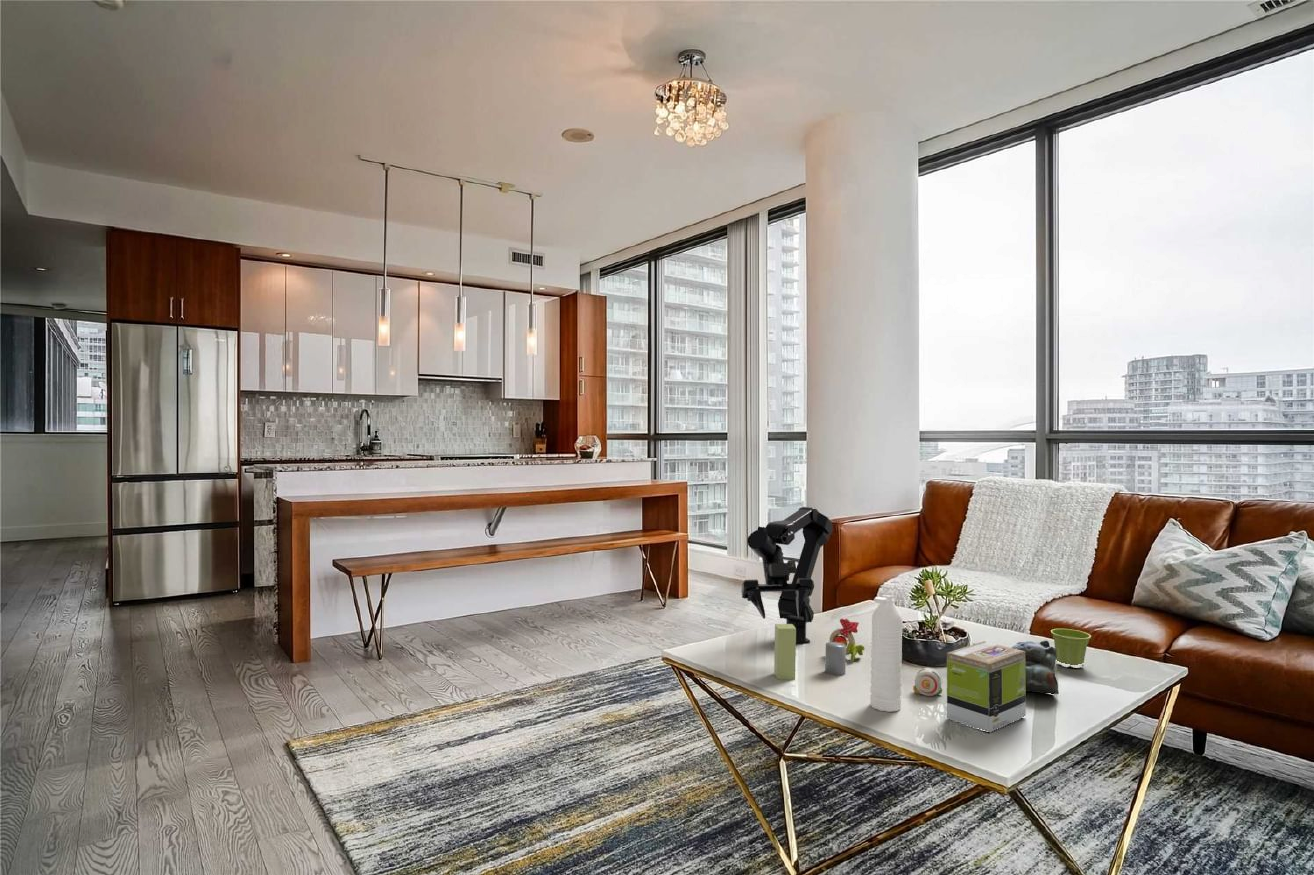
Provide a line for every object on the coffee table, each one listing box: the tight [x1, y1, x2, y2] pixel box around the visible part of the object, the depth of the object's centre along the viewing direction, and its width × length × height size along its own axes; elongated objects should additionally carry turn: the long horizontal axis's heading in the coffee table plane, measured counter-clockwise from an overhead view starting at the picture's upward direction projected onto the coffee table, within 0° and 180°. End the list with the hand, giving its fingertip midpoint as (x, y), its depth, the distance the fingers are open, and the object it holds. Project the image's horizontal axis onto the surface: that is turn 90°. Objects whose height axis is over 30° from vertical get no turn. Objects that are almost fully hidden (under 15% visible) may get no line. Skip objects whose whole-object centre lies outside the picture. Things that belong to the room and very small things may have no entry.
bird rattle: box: [828, 618, 865, 662], centre depth 203 cm, size 6×11×9 cm
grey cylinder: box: [824, 642, 847, 677], centre depth 191 cm, size 5×5×7 cm
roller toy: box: [912, 667, 943, 697], centre depth 176 cm, size 4×6×6 cm
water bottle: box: [869, 594, 904, 713], centre depth 166 cm, size 9×6×25 cm
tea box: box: [946, 641, 1027, 733], centre depth 161 cm, size 15×10×15 cm, turn 127°
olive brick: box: [773, 623, 797, 680], centre depth 187 cm, size 4×4×12 cm
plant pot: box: [1050, 628, 1092, 665], centre depth 199 cm, size 9×9×9 cm
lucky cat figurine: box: [1010, 640, 1060, 695], centre depth 179 cm, size 15×12×14 cm
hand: (781, 617), depth 195 cm, fingers open, 9 cm apart
